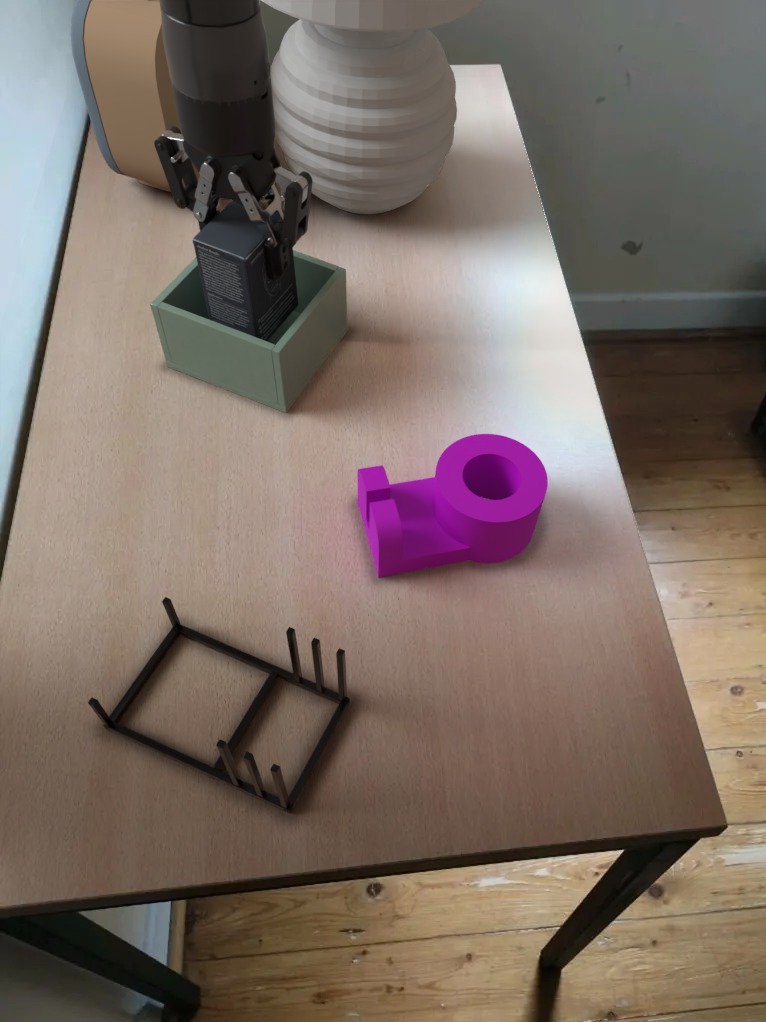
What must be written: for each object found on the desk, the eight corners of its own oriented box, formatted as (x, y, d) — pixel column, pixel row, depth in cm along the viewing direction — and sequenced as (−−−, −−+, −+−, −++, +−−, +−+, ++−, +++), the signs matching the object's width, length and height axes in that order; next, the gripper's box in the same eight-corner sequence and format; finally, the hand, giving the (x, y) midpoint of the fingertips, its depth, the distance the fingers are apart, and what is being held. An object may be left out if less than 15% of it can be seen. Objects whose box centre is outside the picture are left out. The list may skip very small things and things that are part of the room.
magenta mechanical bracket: (516, 471, 79) (527, 426, 74) (549, 552, 74) (563, 511, 69) (356, 497, 76) (355, 452, 70) (380, 584, 71) (381, 543, 66)
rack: (105, 728, 62) (68, 679, 54) (177, 626, 67) (153, 567, 59) (290, 814, 60) (279, 774, 52) (350, 702, 65) (348, 651, 57)
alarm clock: (193, 115, 105) (156, -91, 87) (261, 134, 104) (238, -70, 86) (111, 201, 95) (49, -13, 76) (185, 222, 94) (141, 12, 75)
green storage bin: (167, 366, 82) (149, 303, 75) (236, 289, 89) (226, 225, 82) (286, 413, 80) (278, 352, 73) (347, 330, 87) (346, 268, 80)
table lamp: (252, 246, 93) (185, -241, 59) (269, 124, 106) (223, -334, 71) (469, 258, 95) (527, -203, 61) (460, 137, 108) (504, -299, 74)
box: (251, 287, 83) (238, 191, 74) (299, 306, 83) (292, 211, 74) (209, 332, 79) (189, 236, 70) (259, 352, 79) (246, 258, 70)
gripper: (109, 64, 60) (158, 261, 75) (279, 122, 58) (296, 312, 73) (165, 23, 64) (202, 218, 78) (327, 77, 62) (334, 266, 77)
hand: (247, 263), depth 75 cm, fingers closed on box, 5 cm apart
